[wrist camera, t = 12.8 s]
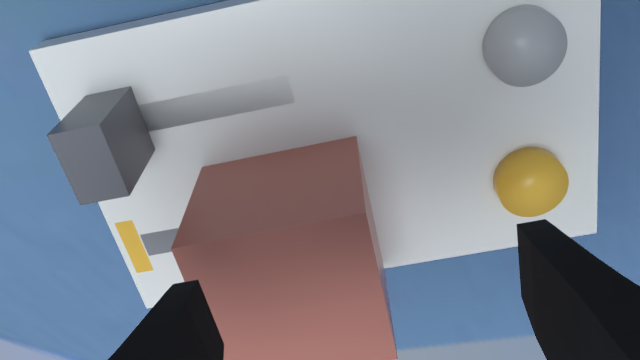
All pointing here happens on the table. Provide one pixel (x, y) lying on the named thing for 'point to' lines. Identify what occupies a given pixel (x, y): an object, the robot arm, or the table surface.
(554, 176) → the breaker panel
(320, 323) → the reddish pink block
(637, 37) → the table surface
